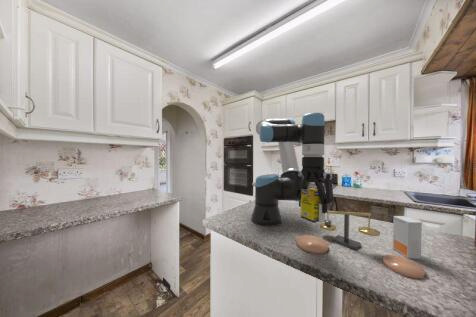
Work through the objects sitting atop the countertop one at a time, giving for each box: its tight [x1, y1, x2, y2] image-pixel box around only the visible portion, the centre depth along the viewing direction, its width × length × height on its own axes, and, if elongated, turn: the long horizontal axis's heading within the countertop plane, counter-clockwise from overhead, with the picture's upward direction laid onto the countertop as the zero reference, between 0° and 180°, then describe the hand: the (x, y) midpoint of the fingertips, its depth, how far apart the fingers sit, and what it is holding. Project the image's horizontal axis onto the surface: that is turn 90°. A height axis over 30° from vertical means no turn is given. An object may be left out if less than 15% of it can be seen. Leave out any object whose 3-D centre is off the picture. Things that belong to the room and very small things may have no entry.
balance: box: [319, 210, 381, 251], centre depth 65 cm, size 20×6×13 cm, turn 36°
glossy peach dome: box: [382, 254, 426, 279], centre depth 51 cm, size 9×9×1 cm
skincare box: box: [392, 215, 423, 260], centre depth 58 cm, size 6×4×12 cm
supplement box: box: [300, 187, 321, 224], centre depth 63 cm, size 6×6×11 cm
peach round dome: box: [295, 234, 330, 255], centre depth 64 cm, size 11×11×1 cm
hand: (312, 218), depth 63 cm, fingers closed on supplement box, 7 cm apart
